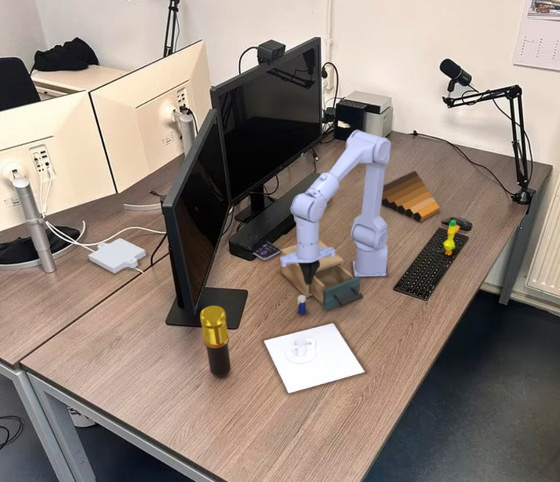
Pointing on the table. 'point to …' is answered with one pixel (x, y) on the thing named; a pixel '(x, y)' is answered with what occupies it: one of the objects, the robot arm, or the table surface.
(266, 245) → the smartphone
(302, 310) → the pen
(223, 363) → the gold capped bottle
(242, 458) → the table surface
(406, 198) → the pan flute
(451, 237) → the toy figure
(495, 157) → the table surface
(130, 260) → the mounting plate
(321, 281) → the drawer
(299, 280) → the cabinet
